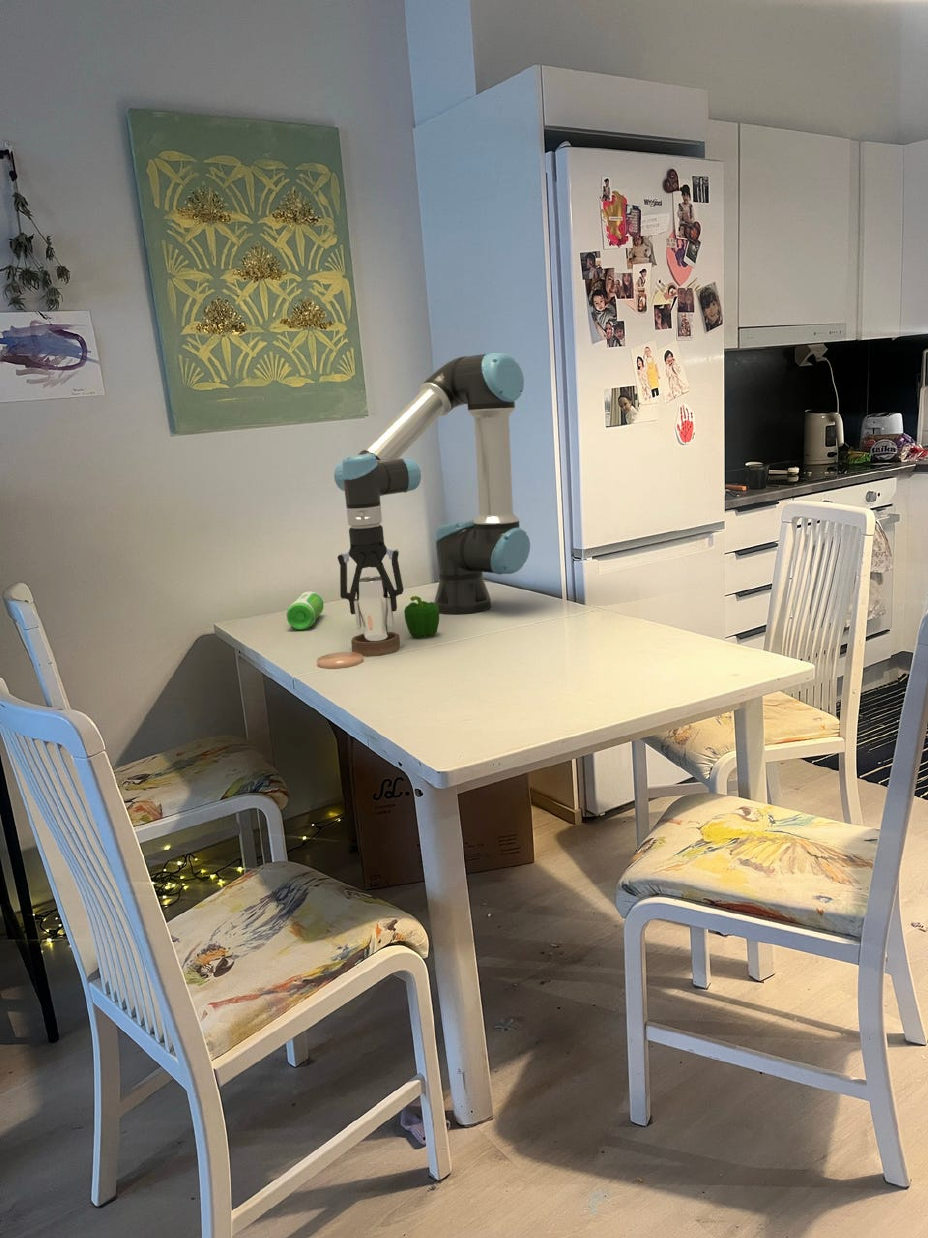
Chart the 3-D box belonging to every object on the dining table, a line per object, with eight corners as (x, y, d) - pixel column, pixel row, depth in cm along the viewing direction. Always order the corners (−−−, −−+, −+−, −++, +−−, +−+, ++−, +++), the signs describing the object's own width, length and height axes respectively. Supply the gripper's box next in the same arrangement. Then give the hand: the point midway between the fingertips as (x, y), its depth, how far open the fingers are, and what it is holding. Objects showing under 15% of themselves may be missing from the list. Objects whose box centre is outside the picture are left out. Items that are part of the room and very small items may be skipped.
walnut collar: (401, 642, 223) (400, 630, 222) (397, 654, 212) (396, 641, 212) (356, 645, 223) (355, 633, 223) (350, 657, 213) (348, 644, 212)
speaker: (315, 631, 242) (312, 601, 241) (286, 632, 242) (283, 603, 241) (326, 616, 259) (323, 588, 258) (299, 617, 260) (296, 590, 258)
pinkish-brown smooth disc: (365, 655, 214) (365, 650, 214) (360, 667, 204) (359, 662, 204) (321, 657, 214) (320, 653, 214) (313, 669, 205) (313, 665, 204)
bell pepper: (435, 630, 233) (432, 590, 231) (444, 637, 226) (441, 595, 223) (401, 634, 231) (398, 594, 229) (410, 642, 223) (407, 600, 221)
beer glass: (398, 641, 218) (392, 577, 214) (375, 649, 213) (369, 583, 210) (378, 638, 223) (372, 574, 219) (355, 645, 218) (348, 580, 214)
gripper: (318, 531, 208) (329, 633, 214) (408, 524, 208) (417, 627, 213) (324, 526, 216) (334, 625, 221) (410, 520, 215) (419, 619, 220)
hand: (375, 626), depth 217 cm, fingers closed on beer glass, 7 cm apart
